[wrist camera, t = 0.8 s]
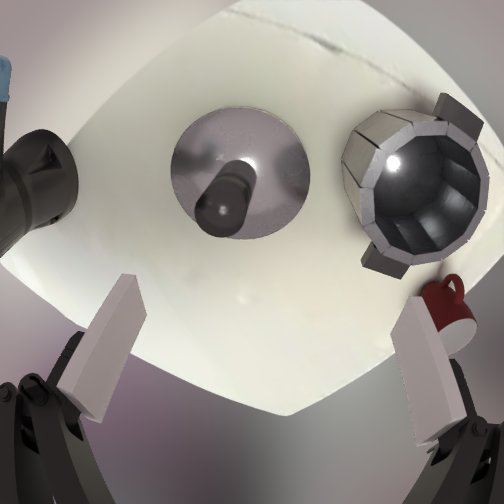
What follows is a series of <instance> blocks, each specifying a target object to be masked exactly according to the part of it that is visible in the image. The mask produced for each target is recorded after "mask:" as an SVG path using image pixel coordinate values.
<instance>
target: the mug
mask: <svg viewBox="0 0 504 504" xmlns="http://www.w3.org/2000/svg"><path fill="white" fill-rule="evenodd" d="M451 280H452V281H453V283H454V286H455V291H454V290H453V289H452V288H450V287H449V286H448V285H449V283H450V282H451ZM420 297H422V298H423V300H424V302H425V305H426V307H427V309H428V311H429V313H430V315H431V318H432V320H433V322H434V325H435V327H436V329H437V332H438V334H439V336H440V339H441V341H442V344H443V346H444V349H445V351H446V354H447V356H449V355H452V354H454V353H456V352H457V351H459V350H461V349H462V348H464V347H465V346H466V345H467V344H468V343H469V342H470V341H471V340H472V338H473V337H474V335H475V333H476V331H477V322H476V320H475V318H474V316H473V314H472V312H471V310H470V309H469V307H468V306H467V305H466V304H465V302H464V301H463V299H464V285H463V282H462V279H461V278H460V277H459V276H458V275H457V274H449V275H447V276H446V277H445V278H444V280H443V282H442V283H440V282H431V283H429V284H427V285H426V286H425V287H424V288H423V290H422V291H421V295H420Z"/></svg>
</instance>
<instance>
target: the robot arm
mask: <svg viewBox="0 0 504 504" xmlns="http://www.w3.org/2000/svg"><path fill="white" fill-rule="evenodd" d="M10 76H11V63H10V61H9V60H8V59H7V58H6V57H4V56H1V55H0V258H1V257H2V256H3V255H4V254H5V253H6V252H7V251H8V250H9V249H10V248H11V247H12V246H13V245H14V244H15V243H16V242H17V241H19V240H20V239H21V238H22V237H23V236H24V235H25V234H26V233H28V232H29V231H32V230H35V229H38V228H42V227H45V226H48V225H51V224H54V223H56V222H58V221H60V220H61V219H62V218H63V217H65V216H66V215H67V214H68V213H69V212H70V211H71V210H72V208H73V206H74V204H75V201H76V198H77V192H78V178H77V172H76V167H75V164H74V161H73V158H72V156H71V153H70V151H69V149H68V148H67V146H66V145H65V143H64V142H63V141H62V140H61V139H60V138H59V137H58V136H57V135H56V134H54V133H53V132H51V131H48V130H44V129H39V130H35V131H32V132H30V133H27V134H25V135H24V136H22V137H21V138H19V139H18V140H17V142H15V143H14V144H13V145H12V146H11V147H10V148H9V149H8V150H7V151H6V152H5V153H4V154H3V147H4V145H3V144H4V128H5V117H6V108H7V101H9V95H8V92H9V84H10ZM146 316H147V314H146V310H145V307H144V304H143V300H142V297H141V293H140V290H139V286H138V282H137V279H136V275H130V274H122V275H121V276H120V278H119V279H118V281H117V282H116V284H115V285H114V287H113V288H112V290H111V291H110V293H109V294H108V296H107V298H106V299H105V301H104V302H103V304H102V306H101V307H100V309H99V310H98V312H97V314H96V315H95V317H94V319H93V320H92V322H91V324H90V325H89V327H88V329H87V331H86V332H81V331H78V332H77V333H75V334H74V335H73V336H72V337H71V338H70V339H69V341H68V343H67V344H66V346H65V349H64V350H63V351H62V353H61V356H60V357H59V358H58V360H57V362H56V364H55V366H54V368H53V369H52V372H51V373H50V375H49V377H48V379H47V381H46V382H45V381H44V380H43V379H42V378H41V377H40V376H39V375H38V374H35V373H30V374H27V375H26V376H24V377H23V378H22V379H21V380H20V383H19V386H18V389H17V388H16V387H15V386H14V385H13V384H12V383H10V382H6V383H3V384H2V385H0V504H54V500H53V496H54V499H55V501H56V504H116V503H115V501H114V500H113V498H112V496H111V494H110V492H109V490H108V488H107V485H106V484H105V481H104V479H103V477H102V475H101V472H100V470H99V468H98V466H97V463H96V461H95V458H94V456H93V453H92V450H91V448H90V445H89V442H88V440H87V437H86V434H85V431H84V428H83V425H82V422H81V420H80V418H79V416H80V414H81V413H82V414H83V415H84V416H85V417H86V418H88V419H90V420H93V421H96V422H98V423H102V420H103V417H104V415H105V412H106V409H107V407H108V404H109V402H110V399H111V397H112V394H113V391H114V389H115V387H116V384H117V382H118V379H119V377H120V375H121V372H122V370H123V368H124V365H125V363H126V361H127V358H128V356H129V354H130V351H131V349H132V347H133V345H134V342H135V340H136V338H137V336H138V334H139V331H140V329H141V327H142V325H143V323H144V321H145V318H146ZM391 338H392V341H393V345H394V348H395V352H396V355H397V359H398V362H399V366H400V370H401V374H402V378H403V382H404V386H405V391H406V395H407V399H408V404H409V409H410V413H411V418H412V423H413V429H414V434H415V440H416V446H421V445H425V444H429V443H432V442H433V441H434V440H436V439H437V438H438V441H439V443H438V444H436V445H435V446H433V447H432V448H430V449H429V450H428V451H427V453H430V452H431V451H433V453H432V454H431V456H430V458H429V461H428V462H427V464H426V466H425V467H424V469H423V471H422V473H421V474H420V476H419V478H418V480H417V481H416V483H415V485H414V486H413V488H412V489H411V491H410V493H409V494H408V496H407V497H406V499H405V500H404V502H403V503H402V504H504V422H502V423H501V424H489V423H487V421H486V420H485V419H484V418H482V417H480V416H477V413H476V411H475V407H474V404H473V401H472V398H471V395H470V392H469V388H468V386H467V383H466V380H465V379H464V374H463V372H462V369H461V367H460V365H459V364H458V363H457V361H456V360H455V359H448V357H447V354H446V351H445V349H444V346H443V344H442V341H441V339H440V336H439V334H438V332H437V329H436V327H435V325H434V322H433V320H432V318H431V315H430V313H429V311H428V309H427V307H426V305H425V302H424V300H423V298H422V297H416V296H409V298H408V300H407V302H406V304H405V306H404V308H403V310H402V312H401V314H400V316H399V318H398V320H397V322H396V324H395V326H394V328H393V330H392V332H391ZM489 458H491V461H490V464H489Z"/></svg>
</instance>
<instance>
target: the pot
mask: <svg viewBox="0 0 504 504" xmlns="http://www.w3.org/2000/svg"><path fill="white" fill-rule="evenodd" d="M433 115H434V116H436V117H437V118H436V117H433V116H430V115H426V114H423V113H420V112H416V111H413V110H409V109H400V110H380V112H379V111H377V112H376V113H375V114H373V115H372V116H371V117H369V118H368V119H367V120H365V121H364V122H362V123H361V124H360V125H358V126H357V127H356V128H354V129H355V131H352V134H351V136H350V139H349V141H348V144H347V146H346V148H345V151H344V153H343V156H342V160H341V163H342V171H343V179H344V188H345V191H346V193H347V195H348V197H349V199H350V201H351V204H352V206H353V208H354V210H355V212H356V214H357V216H358V218H359V221H360V223H361V225H362V227H363V229H364V230H365V232H366V233H367V234H368V236H369V237H370V239H371V240H372V241H373V242H372V241H371V243H370V244H369V246H368V248H367V250H366V251H365V253H364V255H363V256H362V258H361V263H362V266H363V267H365V268H368V269H371V270H374V271H377V272H380V273H383V274H386V275H388V276H391V277H394V278H397V279H400V280H401V278H402V277H403V276H404V274H405V273H406V271H407V270H408V268H409V267H410V265H412V266H413V265H419V264H425V263H431V262H436V261H441V258H442V260H443V259H445V258H446V257H448V256H449V255H450V254H452V253H453V252H455V251H456V250H457V249H459V248H460V247H461V246H463V245H464V244H465V243H467V242H468V241H467V239H468V240H470V238H471V236H472V235H473V233H474V231H475V230H476V228H477V226H478V225H479V223H480V221H481V219H482V217H483V216H484V214H485V211H484V210H486V207H487V199H488V190H489V178H490V177H489V176H488V175H489V172H488V170H487V167H486V164H485V161H484V159H483V156H482V154H481V151H480V149H479V146H478V144H477V143H476V142H477V140H478V137H479V135H480V132H481V129H482V127H483V124H484V122H483V121H482V120H481V119H480V118H478V117H477V116H476V115H475V114H474V113H472V112H471V111H470V110H469V109H467V108H466V107H465V106H463V105H462V104H461V103H459V102H458V101H457V100H455V99H454V98H453V97H451V96H450V95H449V94H447V93H440V96H439V98H438V101H437V104H436V106H435V109H434V112H433Z"/></svg>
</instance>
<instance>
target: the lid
mask: <svg viewBox="0 0 504 504" xmlns="http://www.w3.org/2000/svg"><path fill="white" fill-rule="evenodd" d="M171 180H172V186H173V189H174V192H175V195H176V197H177V199H178V201H179V203H180V205H181V206H182V208H183V209H184V210H185V212H186V213H187V214H188V215H189V216H190V217H191V218H192V219H193V220H194V221H195V222H196V223H197V224H198V225H199V226H200V228H201V229H202V230H203V231H205V232H206V233H208V234H209V235H212V236H215V237H227V238H232V239H255V238H260V237H264V236H267V235H270V234H272V233H274V232H276V231H278V230H280V229H281V228H283V227H284V226H286V225H287V224H288V223H289V222H290V221H291V220H292V219H293V218H294V217H295V216H296V215H297V214H298V212H299V211H300V209H301V208H302V206H303V204H304V202H305V200H306V197H307V194H308V190H309V184H310V169H309V163H308V159H307V155H306V152H305V150H304V147H303V145H302V143H301V142H300V140H299V138H298V137H297V135H296V134H295V133H294V132H293V130H292V129H291V128H290V127H289V126H288V125H287V124H286V123H284V122H283V121H281V120H280V119H279V118H277V117H275V116H274V115H272V114H270V113H268V112H265V111H262V110H259V109H255V108H251V107H229V108H223V109H220V110H217V111H214V112H211V113H209V114H207V115H205V116H203V117H201V118H200V119H198V120H197V121H195V122H194V123H193V124H192V125H191V126H190V127H189V128H187V130H186V131H185V132H184V133H183V135H182V136H181V138H180V139H179V141H178V143H177V145H176V147H175V150H174V153H173V156H172V161H171Z"/></svg>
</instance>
